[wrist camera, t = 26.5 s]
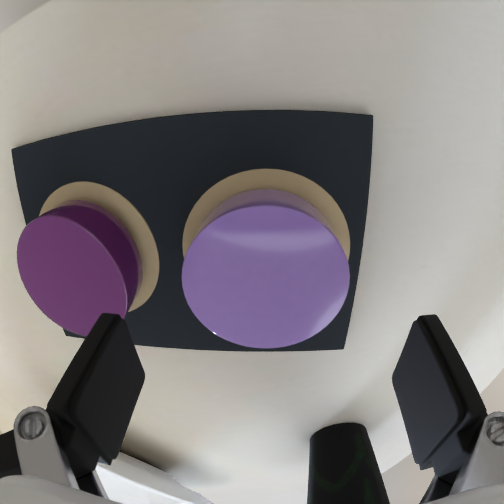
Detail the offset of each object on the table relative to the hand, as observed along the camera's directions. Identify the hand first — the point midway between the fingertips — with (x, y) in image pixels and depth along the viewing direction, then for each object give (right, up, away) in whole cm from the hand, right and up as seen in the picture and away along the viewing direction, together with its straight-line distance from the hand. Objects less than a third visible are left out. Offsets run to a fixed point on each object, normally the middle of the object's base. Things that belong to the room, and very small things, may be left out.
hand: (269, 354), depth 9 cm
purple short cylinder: (-10, +3, +7) cm, 12 cm away
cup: (+8, -14, +16) cm, 23 cm away
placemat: (-5, +3, +7) cm, 9 cm away
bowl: (-17, -25, +22) cm, 38 cm away
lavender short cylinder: (0, +3, +6) cm, 7 cm away
